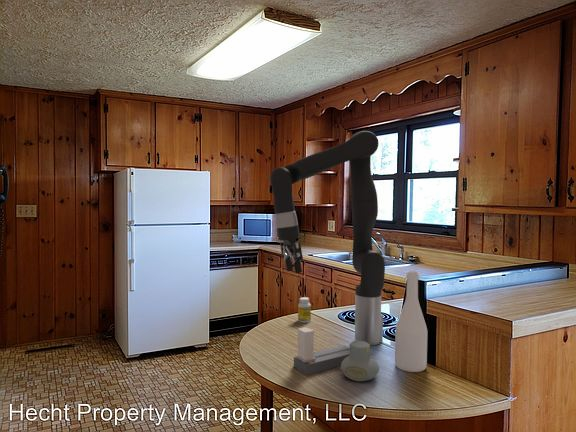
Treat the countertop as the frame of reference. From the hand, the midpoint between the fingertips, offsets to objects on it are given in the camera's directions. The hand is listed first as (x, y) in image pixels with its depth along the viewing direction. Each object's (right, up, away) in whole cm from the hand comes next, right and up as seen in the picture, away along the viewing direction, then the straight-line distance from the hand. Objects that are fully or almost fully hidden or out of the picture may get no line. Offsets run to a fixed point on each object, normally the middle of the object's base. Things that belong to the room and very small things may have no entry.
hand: (294, 272), depth 150 cm
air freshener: (+19, -28, -22) cm, 41 cm away
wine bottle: (+36, -28, -15) cm, 48 cm away
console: (+10, -27, -13) cm, 32 cm away
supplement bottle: (+5, -25, +32) cm, 41 cm away
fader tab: (+3, -24, -17) cm, 30 cm away
